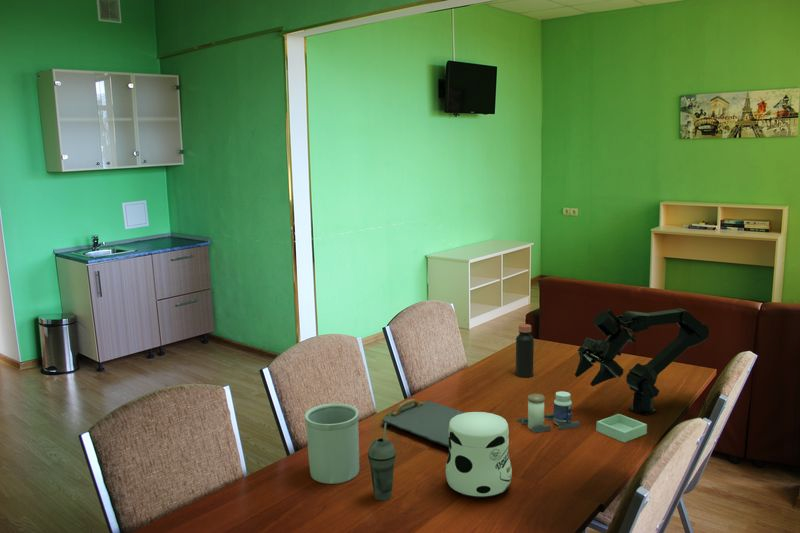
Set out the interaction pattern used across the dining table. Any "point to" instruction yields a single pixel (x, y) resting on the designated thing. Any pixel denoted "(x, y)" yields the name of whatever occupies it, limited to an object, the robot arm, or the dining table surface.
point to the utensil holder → (333, 442)
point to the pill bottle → (562, 408)
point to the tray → (621, 427)
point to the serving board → (423, 419)
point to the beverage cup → (382, 466)
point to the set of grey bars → (548, 427)
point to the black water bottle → (524, 351)
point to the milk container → (478, 455)
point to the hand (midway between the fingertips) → (583, 380)
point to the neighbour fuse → (535, 410)
